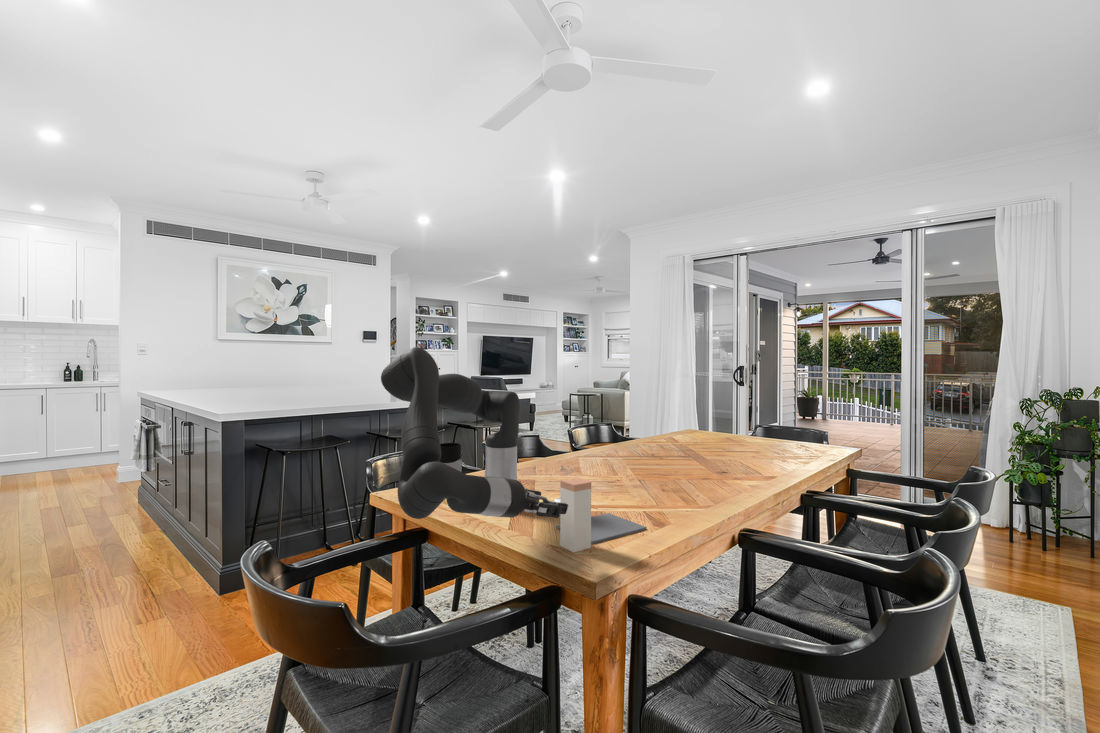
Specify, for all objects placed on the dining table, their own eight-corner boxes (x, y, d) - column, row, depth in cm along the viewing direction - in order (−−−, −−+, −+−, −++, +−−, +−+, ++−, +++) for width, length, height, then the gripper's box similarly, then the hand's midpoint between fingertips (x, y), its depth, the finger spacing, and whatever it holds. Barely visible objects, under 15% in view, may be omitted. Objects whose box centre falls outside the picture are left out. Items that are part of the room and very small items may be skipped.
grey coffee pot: (468, 490, 166) (468, 444, 166) (438, 500, 154) (438, 450, 153) (447, 486, 170) (448, 441, 170) (417, 496, 158) (417, 448, 158)
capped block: (560, 545, 117) (560, 480, 117) (577, 541, 120) (577, 477, 120) (573, 552, 113) (573, 485, 113) (590, 547, 116) (591, 482, 116)
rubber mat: (556, 527, 129) (556, 525, 129) (609, 515, 140) (609, 513, 140) (591, 544, 118) (591, 541, 118) (646, 529, 128) (646, 527, 128)
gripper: (471, 503, 106) (526, 508, 117) (514, 528, 95) (571, 531, 106) (481, 468, 106) (535, 476, 117) (525, 489, 96) (580, 495, 107)
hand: (552, 502), depth 112 cm, fingers open, 8 cm apart
